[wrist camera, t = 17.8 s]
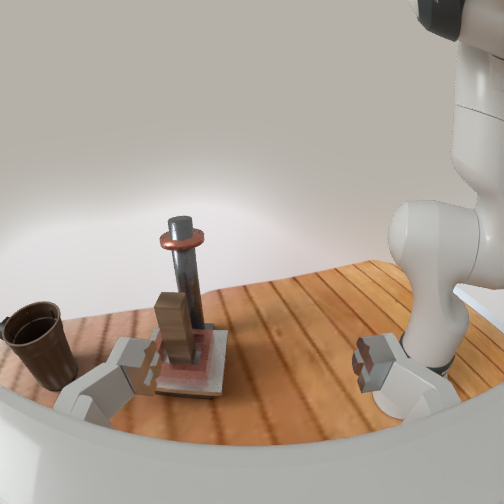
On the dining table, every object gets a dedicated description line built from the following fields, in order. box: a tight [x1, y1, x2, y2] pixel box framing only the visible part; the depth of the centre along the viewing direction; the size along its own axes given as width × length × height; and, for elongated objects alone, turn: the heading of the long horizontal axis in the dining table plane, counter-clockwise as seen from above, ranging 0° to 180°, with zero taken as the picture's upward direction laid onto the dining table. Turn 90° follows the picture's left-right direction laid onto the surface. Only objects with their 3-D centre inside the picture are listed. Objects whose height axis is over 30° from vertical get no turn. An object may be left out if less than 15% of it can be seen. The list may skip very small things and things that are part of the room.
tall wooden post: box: [154, 292, 196, 365], centre depth 47 cm, size 4×4×14 cm
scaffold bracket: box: [150, 216, 228, 399], centre depth 50 cm, size 26×17×30 cm, turn 0°
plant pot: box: [2, 302, 77, 391], centre depth 44 cm, size 16×16×16 cm
